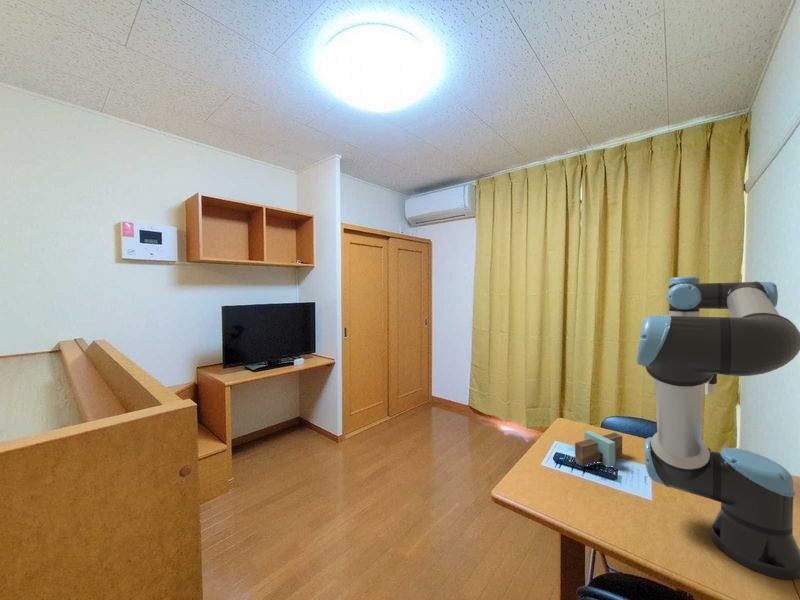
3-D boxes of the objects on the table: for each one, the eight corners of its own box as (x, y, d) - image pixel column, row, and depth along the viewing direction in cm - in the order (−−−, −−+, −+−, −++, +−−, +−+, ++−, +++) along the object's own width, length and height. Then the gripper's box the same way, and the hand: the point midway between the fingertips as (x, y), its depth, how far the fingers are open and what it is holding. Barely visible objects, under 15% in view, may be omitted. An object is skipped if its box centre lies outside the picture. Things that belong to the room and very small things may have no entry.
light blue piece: (615, 466, 115) (615, 442, 114) (609, 468, 114) (608, 443, 113) (590, 452, 124) (590, 430, 124) (584, 454, 123) (584, 431, 123)
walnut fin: (622, 456, 121) (622, 436, 121) (582, 468, 114) (582, 446, 114) (614, 452, 124) (614, 432, 123) (575, 464, 117) (575, 442, 117)
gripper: (741, 327, 94) (740, 397, 95) (651, 319, 118) (651, 376, 119) (725, 329, 92) (725, 401, 93) (636, 321, 115) (637, 378, 116)
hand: (683, 387), depth 106 cm, fingers open, 13 cm apart
